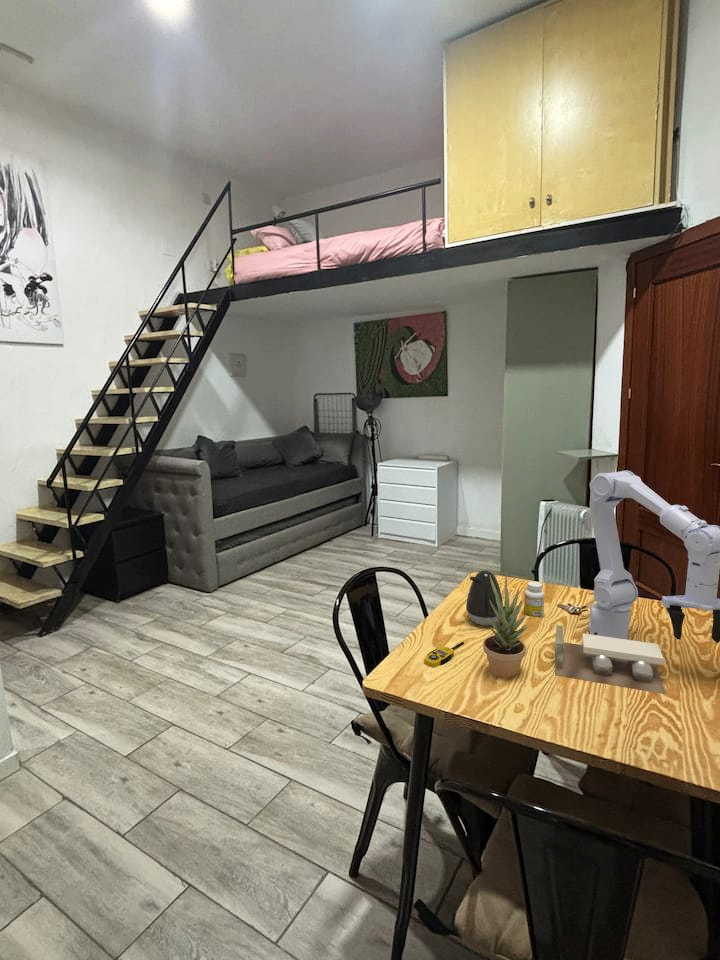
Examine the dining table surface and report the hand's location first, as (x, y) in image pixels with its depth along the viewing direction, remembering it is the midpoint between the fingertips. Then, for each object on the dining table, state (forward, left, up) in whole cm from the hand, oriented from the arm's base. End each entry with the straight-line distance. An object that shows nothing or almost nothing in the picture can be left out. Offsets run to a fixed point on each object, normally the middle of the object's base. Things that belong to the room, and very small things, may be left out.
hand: (696, 638), depth 114 cm
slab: (-15, -2, -4) cm, 16 cm away
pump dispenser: (-48, +14, -10) cm, 51 cm away
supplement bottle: (-35, +23, -10) cm, 43 cm away
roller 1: (-19, -2, -8) cm, 21 cm away
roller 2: (-11, -2, -8) cm, 14 cm away
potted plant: (-40, -12, -10) cm, 43 cm away
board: (-18, -2, -10) cm, 20 cm away
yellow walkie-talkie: (-54, -8, -10) cm, 56 cm away
